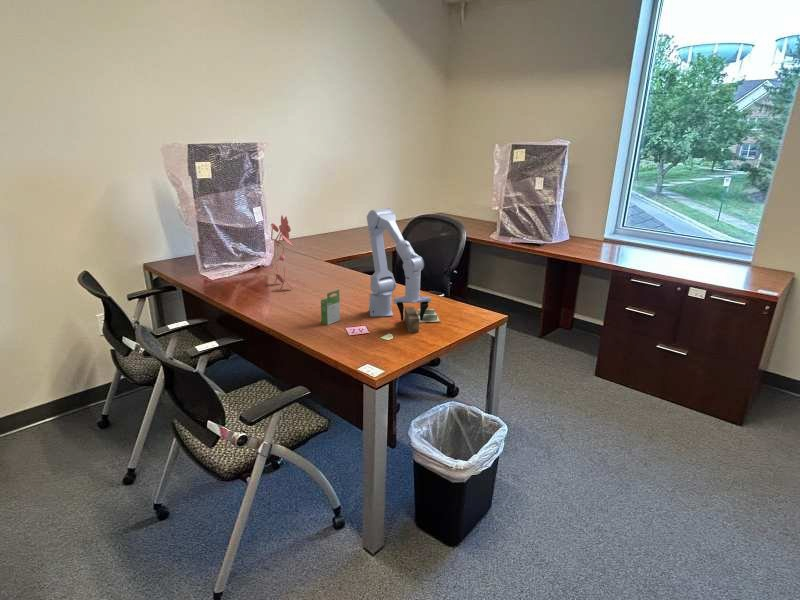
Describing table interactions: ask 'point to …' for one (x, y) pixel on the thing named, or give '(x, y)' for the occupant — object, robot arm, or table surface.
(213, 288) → the table surface
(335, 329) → the table surface
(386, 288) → the robot arm
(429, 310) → the rail stand
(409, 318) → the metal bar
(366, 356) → the table surface
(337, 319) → the ink box
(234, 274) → the table surface
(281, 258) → the figurine
